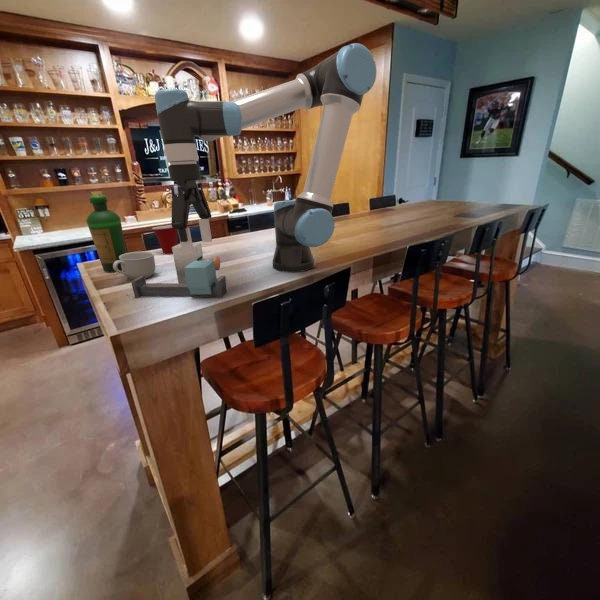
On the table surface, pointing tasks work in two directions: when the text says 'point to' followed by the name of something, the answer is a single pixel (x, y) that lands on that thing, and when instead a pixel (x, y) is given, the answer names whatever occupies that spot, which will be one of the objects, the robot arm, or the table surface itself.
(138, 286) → the rail
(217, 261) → the button
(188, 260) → the cabinet
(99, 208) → the bottle
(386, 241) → the table surface
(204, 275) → the carriage
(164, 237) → the plastic cup
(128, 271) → the teacup
